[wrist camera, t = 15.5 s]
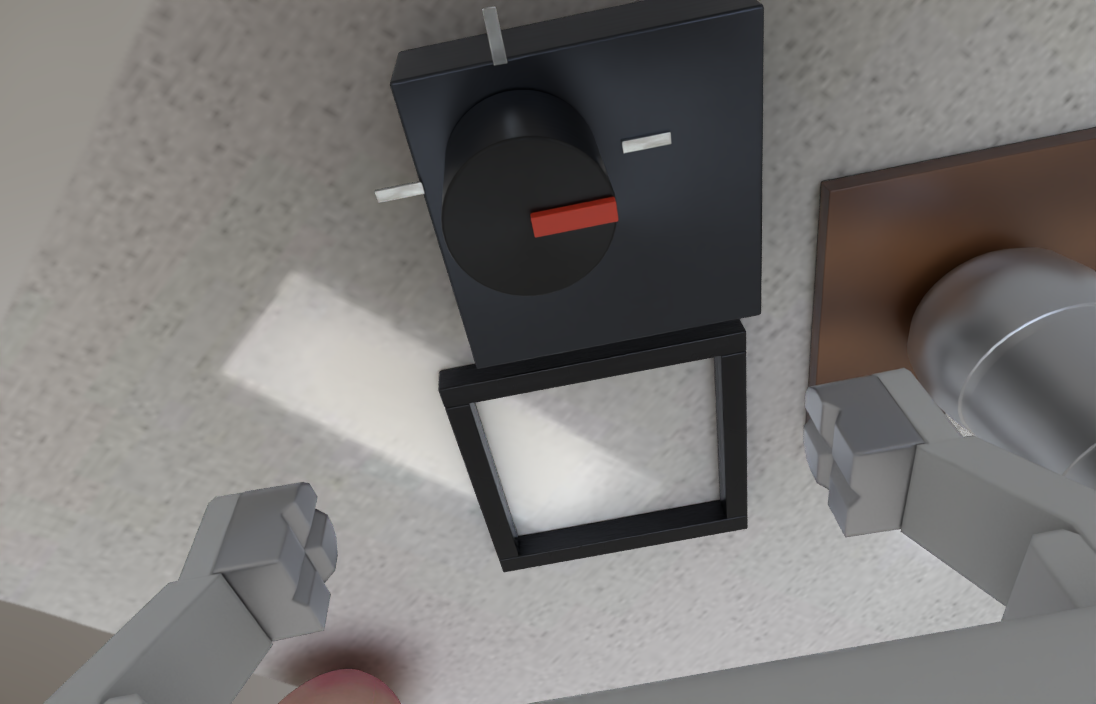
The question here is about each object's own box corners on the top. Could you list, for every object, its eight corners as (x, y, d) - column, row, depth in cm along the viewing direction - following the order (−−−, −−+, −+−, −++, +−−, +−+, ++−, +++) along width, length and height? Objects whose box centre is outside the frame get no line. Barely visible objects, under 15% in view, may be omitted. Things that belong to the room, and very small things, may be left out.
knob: (465, 247, 22) (465, 318, 19) (426, 106, 19) (418, 162, 16) (607, 219, 22) (628, 286, 19) (586, 73, 19) (608, 124, 16)
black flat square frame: (438, 370, 29) (437, 390, 28) (737, 313, 28) (746, 331, 27) (502, 552, 36) (503, 572, 35) (740, 509, 36) (748, 528, 35)
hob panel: (339, 13, 21) (321, 43, 18) (731, -70, 20) (767, -51, 18) (442, 327, 28) (440, 379, 25) (736, 270, 27) (763, 318, 25)
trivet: (820, 181, 25) (829, 191, 25) (1169, 112, 25) (1188, 120, 24) (805, 426, 32) (812, 438, 32) (1074, 376, 32) (1086, 387, 31)
